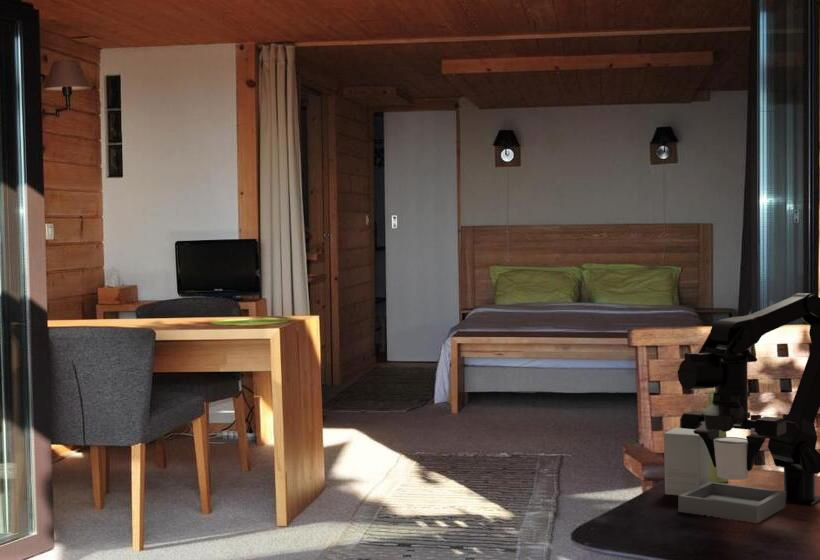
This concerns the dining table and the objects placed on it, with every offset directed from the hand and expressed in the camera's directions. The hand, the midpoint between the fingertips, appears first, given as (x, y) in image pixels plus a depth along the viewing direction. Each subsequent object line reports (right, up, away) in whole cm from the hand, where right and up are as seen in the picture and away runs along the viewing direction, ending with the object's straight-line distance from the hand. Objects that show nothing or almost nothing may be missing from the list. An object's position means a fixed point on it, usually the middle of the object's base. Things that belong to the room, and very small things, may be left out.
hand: (732, 468), depth 200 cm
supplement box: (-5, -8, +14) cm, 17 cm away
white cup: (0, -2, 0) cm, 2 cm away
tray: (0, -8, 0) cm, 8 cm away
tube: (+4, -7, +25) cm, 26 cm away
